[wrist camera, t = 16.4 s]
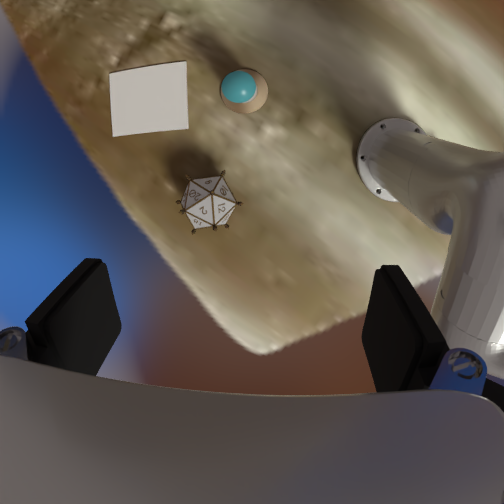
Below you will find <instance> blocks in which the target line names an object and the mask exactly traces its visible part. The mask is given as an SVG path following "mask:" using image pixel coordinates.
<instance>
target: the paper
mask: <svg viewBox="0 0 504 504" xmlns="http://www.w3.org/2000/svg"><path fill="white" fill-rule="evenodd" d="M109 75H110V101H111V118H112V131H113V137H114V136H122V135H129V134H138V133H147V132H156V131H167V130H178V129H189V122H188V99H187V64H186V61H184V62H176V63H168V64H161V65H154V66H148V67H142V68H136V69H131V70H126V71H121V72H116V73H111V74H109Z"/></svg>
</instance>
